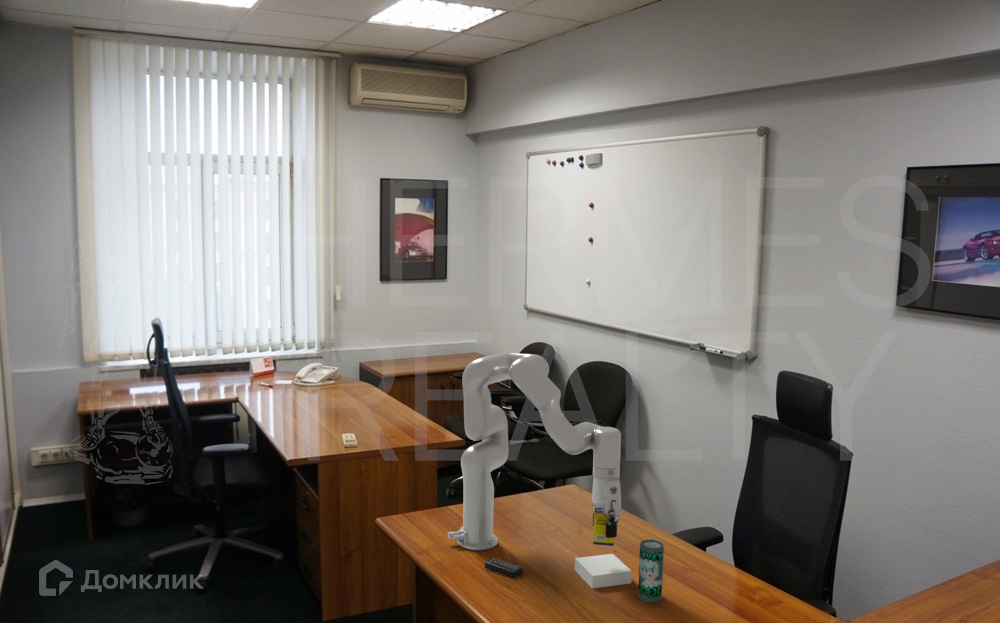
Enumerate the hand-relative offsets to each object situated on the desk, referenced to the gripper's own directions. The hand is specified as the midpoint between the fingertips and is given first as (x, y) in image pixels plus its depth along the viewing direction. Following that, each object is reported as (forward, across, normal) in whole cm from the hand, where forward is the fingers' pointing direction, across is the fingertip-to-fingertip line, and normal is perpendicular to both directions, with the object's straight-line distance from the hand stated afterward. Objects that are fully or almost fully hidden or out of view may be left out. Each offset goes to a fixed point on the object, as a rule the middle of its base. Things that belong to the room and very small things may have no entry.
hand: (604, 531), depth 218 cm
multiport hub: (+14, +11, +26) cm, 32 cm away
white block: (+14, 0, 0) cm, 14 cm away
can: (+14, -15, -7) cm, 21 cm away
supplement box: (+3, 0, 0) cm, 3 cm away
